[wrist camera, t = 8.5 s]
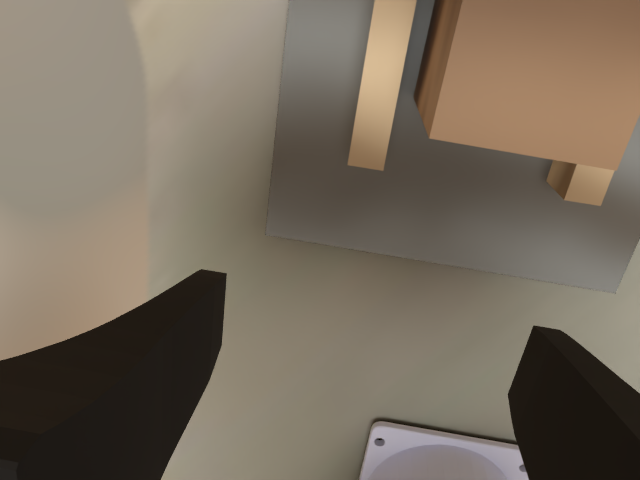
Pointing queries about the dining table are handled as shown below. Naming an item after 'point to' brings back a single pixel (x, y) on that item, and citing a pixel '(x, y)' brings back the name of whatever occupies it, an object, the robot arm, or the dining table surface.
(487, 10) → the cabinet block
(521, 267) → the cradle
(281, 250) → the dining table surface
